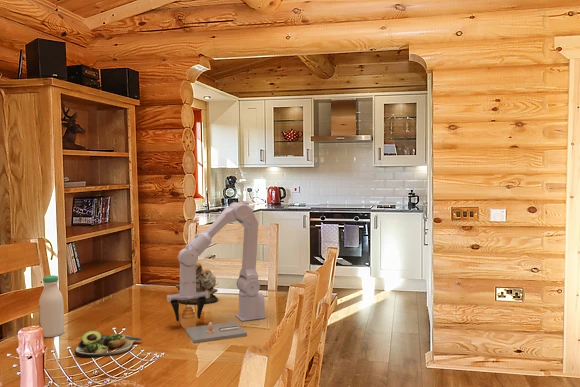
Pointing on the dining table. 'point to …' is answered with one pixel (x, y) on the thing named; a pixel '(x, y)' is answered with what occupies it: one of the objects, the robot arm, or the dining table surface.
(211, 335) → the grey peg board
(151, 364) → the dining table surface
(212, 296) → the owl figurine
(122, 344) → the salad plate
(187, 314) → the wire nut
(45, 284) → the milk bottle
